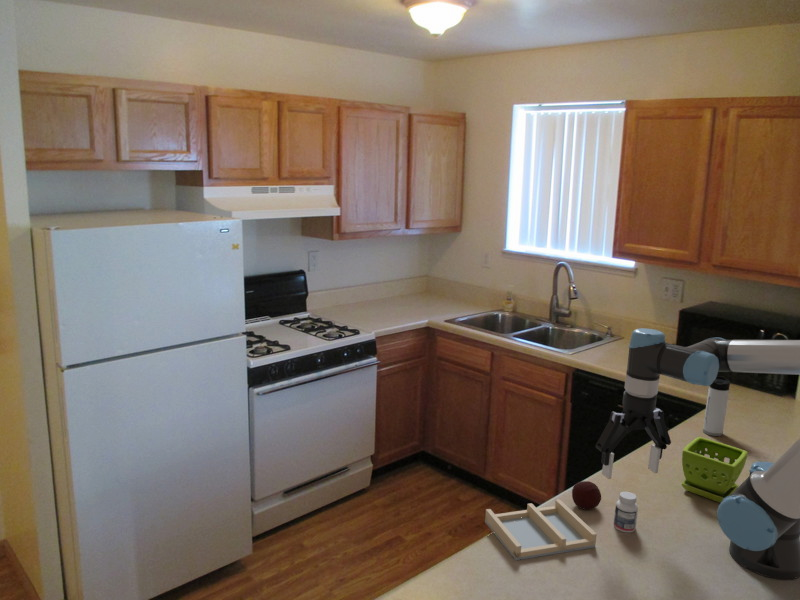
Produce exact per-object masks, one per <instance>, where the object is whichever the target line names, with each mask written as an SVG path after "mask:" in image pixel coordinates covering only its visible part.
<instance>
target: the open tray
mask: <svg viewBox="0 0 800 600" xmlns="http://www.w3.org/2000/svg"><path fill="white" fill-rule="evenodd" d="M554 503H555V504H554V505H551V506H544V507H536V506H535V505H534V504H533V503H527V504H526V505H527V507H526V509H522V510H517V511H509V512H502V513H494V511H493V510H492V509H491V508H487V509H485V518H484V523H485V524H486V525H487V526H488V528H489V529H490V530H491V532H492V533H493V534H494V535H495V536H496V538H497V539H498V540H499V541H500V543H501V545H503V547H504V548H505V549H506V551H507V552H508V553H509V554H510V555H511V557H512V556H513V557H514V558H513V557H512V558H513V560H515V561H520V559H521V560H526V559H531V558H532V559H533V558H537V557H538V558H539V557H545V556H550V555H551V556H552V555H556V554H562V553H568V552H574V551H580V550H586V549H591V548H592V549H593V548H596V543H597V534H598V533H596V532H595V531H594V529H592V528H591V527H590V526H589V525H588V524H587V523H586V522H585V521H583V519H581V518H580V517H579V516H578V515H577V514H576V513H575V512H574V511H572V509H571V508H570V507H568V505H566V504H565V503H564V502H563V500H561V499H555V502H554ZM521 517H522V518H521ZM514 521H515V522H514ZM507 525H508V526H507ZM494 532H495V533H494Z"/></svg>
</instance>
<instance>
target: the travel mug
mask: <svg viewBox="0 0 800 600" xmlns="http://www.w3.org/2000/svg"><path fill="white" fill-rule="evenodd" d="M730 385H731V381H730V379H728V378H726V377H725V376H723V375H722V376H720V375H718V376H716V379H715V380H714V381H713V383H712V384H711V385H709V386H708V390H707V398H706V406H705V413H704V420H703V426H702V427H703V428H702V431H703V433H704V434H706V435H708V436H711V437H721V436H723V434H724V426H725V422H726V421H725V420H726V414H727V408H728V399H729V393H730Z"/></svg>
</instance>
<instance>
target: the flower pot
mask: <svg viewBox="0 0 800 600" xmlns="http://www.w3.org/2000/svg"><path fill="white" fill-rule="evenodd" d="M681 453H682V454H681V457H682V458H681V461H682V462H681V463H682V466H681V467H682V471H683V475H684V480H683V481H682V482H681V486H682V488H683V489H684V490H685V491H687V492H688V493H693V494H696V495H698V496H700V497H703V498H707V499H709V500H712V501H714V502H717V503H719V504H721V502H722V500H723V499H724V498H726V497H728V496H729V495H731V494H732V493H733V492H734V491H735V490H736V489H737V488H738V487H739V484H738V483H736V482H737V480H738V479H739V477H740V475H741V473H742V471H743V469H744V468H745V465H746V462H747V458H748V454H749V453H748V451H747V450H744V449H741V448H738V447H735V446H733V445H729V444H725V443H722V442H720V441H716V440H712V439H709V438H705V437H703V436H702V437H701V436H698V437H696V438H695V439H692V440H691V442H689V443H688V444H687V445H686V446H685V447H684V448H683V450H682V452H681ZM716 454H717V455H716ZM705 455H707V456H705ZM708 456H709V457H708ZM725 458H727V459H729V462H725Z"/></svg>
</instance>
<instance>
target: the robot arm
mask: <svg viewBox="0 0 800 600" xmlns="http://www.w3.org/2000/svg"><path fill="white" fill-rule="evenodd" d="M719 372H725V373H753V374H776V375H796V376H797V375H800V339H725V338H722V337H710V338H706V339H704V340H702V341H700V342H697V343H694V344H692V345H689V346H682V345H676V344H672V343H669V342H666V335H665V333H664V332H663V331H661V330H658V329H654V328H653V329H652V328H645V327H644V328H642V327H640V328H636V329H634V330H633V331H632V332H631V336H630V341H629V345H628V354H627V367H626V372H625V373H626V374H625V380H624V389H625V390H624V391H623V394H622V395H623V397H622V407H623V408H622V409H623V410H622V412H621V413H620V412H616V411H611V412H610V416H609V420H608V422H607V424H606V425H605V427H604V429H603V431H602V433H601V435H600V436H599V438H598V440H597V442H596V443H595V448H596V449H597V450H598V451H600V452H601V458H600V459H601V460H600V462H601V464H602V468H601V469H602V470H601V474H602V476H603V477H605V478H606V479H608V480H612V474H613V469H614V468H613V467H614V459H615V458H614V457H615V453H614V450H615V449H616V448H617V446H619V444H620V443H621V441H623V439H624V438H625V437H626V436H627V435H628V434H630V433H631V432H632V431H634V432H635V431H638V430H640V431H643V430H645V431H646V433H647V435H648V436H649V438H650V439H651V440H652V442H653V443H654V444H653V443H652V444H650V451H649V457H648V458H649V459H648V465H647V466H648V467H647V469H648V470H649V471H651V472H652V473H654V474H658V473H659V465H660V460H661V459H662V458H663V457H662V456H663V450H666V449H667V448H668V446H670V445H671V443H672V440H671V437H670V434H669V431H668V427H667V424H666V422H665V411H663V410H662V409H660V408H658V407H656V406H657V405H656V404H657V399H658V397H657V395H658V393H659V384H660V376H661V375H662V376H665V377H669V378H672V379H675V380H679V381H683V382H686V383H689V384H691V385H698V386H703V387H709V385H711V384H712V383H713V381H714V380H715V379H716V377H718V373H719ZM652 419H653V421H654V423H655V427H656V429H657V431H656V429H655V427H654V425H653V424H652V422H651V421H652ZM748 471H749V476H748V477H747V478H746V479H745V480H743V482H742V483H741V484H739V485H738V488H737V489H736V490H735V491H734V492H733V493H732V494H731V495H729V496H728V497H726V498H724V499H723V500H722V502H721V503H719V505H718V507H717V511H716V518H717V522H718V525H719V527H720V529H721V531H722V532H723V534H724V536H726V537H727V538H728V540H729V547H728V551H729V554H730V556H731V558H733V560H734V561H736V562H737V563H738V564H739V565H741V566H743V568H745V569H747V570H749V571H751V572H753V573H755V574H757V575H758V574H759V575H760V576H764V577H766V578H771V579H776V580H794V579H798V578H799V577H800V437H799V438H798V439H797V440H796V441H795V442H794V443H793V444H792V445H791V446H790V447H789V448H788V449H787V450H786V451H785V452H784V453H783V454H782V455H781V456H780V457H779V458H778V459H777V460H776V461H775V462H770V461H763V460H761V461H755V462H753V463H752V464H751V466H750V469H749V470H748Z"/></svg>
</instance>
